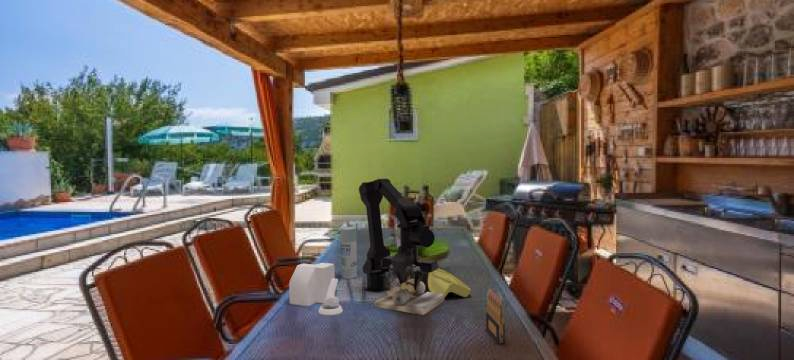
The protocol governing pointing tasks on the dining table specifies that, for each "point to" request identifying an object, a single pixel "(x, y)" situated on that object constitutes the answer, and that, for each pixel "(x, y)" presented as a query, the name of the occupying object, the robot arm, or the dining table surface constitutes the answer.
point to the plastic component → (446, 283)
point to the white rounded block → (310, 283)
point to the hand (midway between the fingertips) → (409, 289)
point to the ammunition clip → (495, 318)
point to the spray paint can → (348, 252)
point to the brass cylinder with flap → (404, 287)
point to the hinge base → (411, 301)
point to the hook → (331, 301)
